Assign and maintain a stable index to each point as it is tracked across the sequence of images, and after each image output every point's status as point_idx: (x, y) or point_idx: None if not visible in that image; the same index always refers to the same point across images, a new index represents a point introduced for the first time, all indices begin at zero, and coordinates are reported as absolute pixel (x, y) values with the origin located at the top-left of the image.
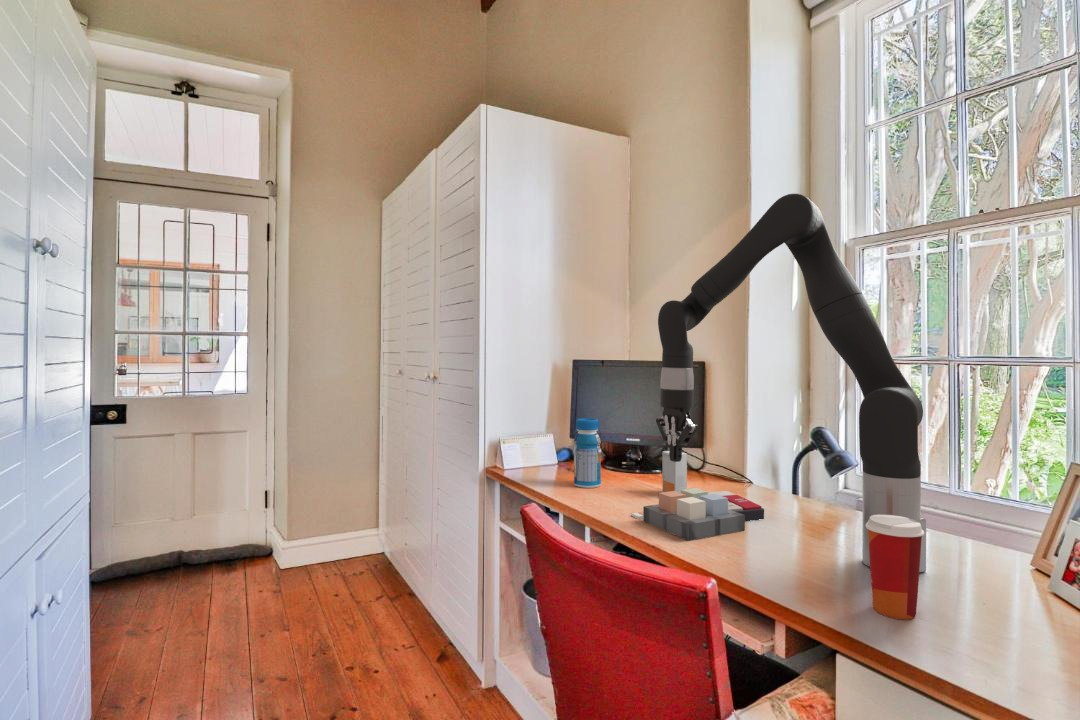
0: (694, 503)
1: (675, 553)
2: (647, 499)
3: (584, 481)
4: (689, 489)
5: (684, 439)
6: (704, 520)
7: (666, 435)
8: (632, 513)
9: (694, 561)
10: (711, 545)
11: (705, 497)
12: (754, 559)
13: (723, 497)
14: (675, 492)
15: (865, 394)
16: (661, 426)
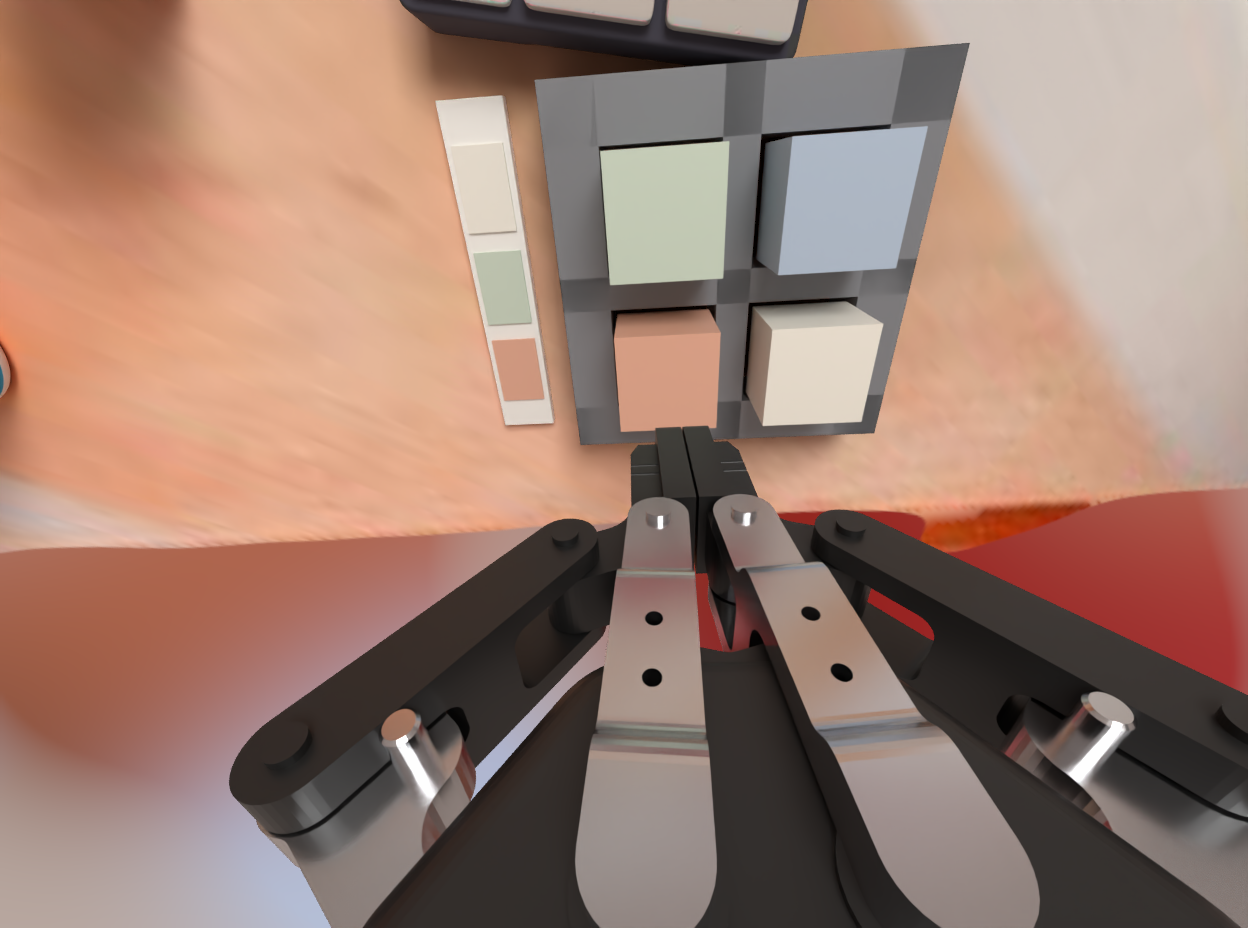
0: (865, 394)
1: (900, 501)
2: (235, 193)
3: None
4: (622, 223)
5: (866, 590)
6: (882, 343)
7: (585, 641)
8: (508, 421)
9: (980, 493)
10: (933, 364)
11: (826, 266)
12: (1131, 324)
13: (899, 148)
14: (650, 352)
15: None
16: (486, 755)
